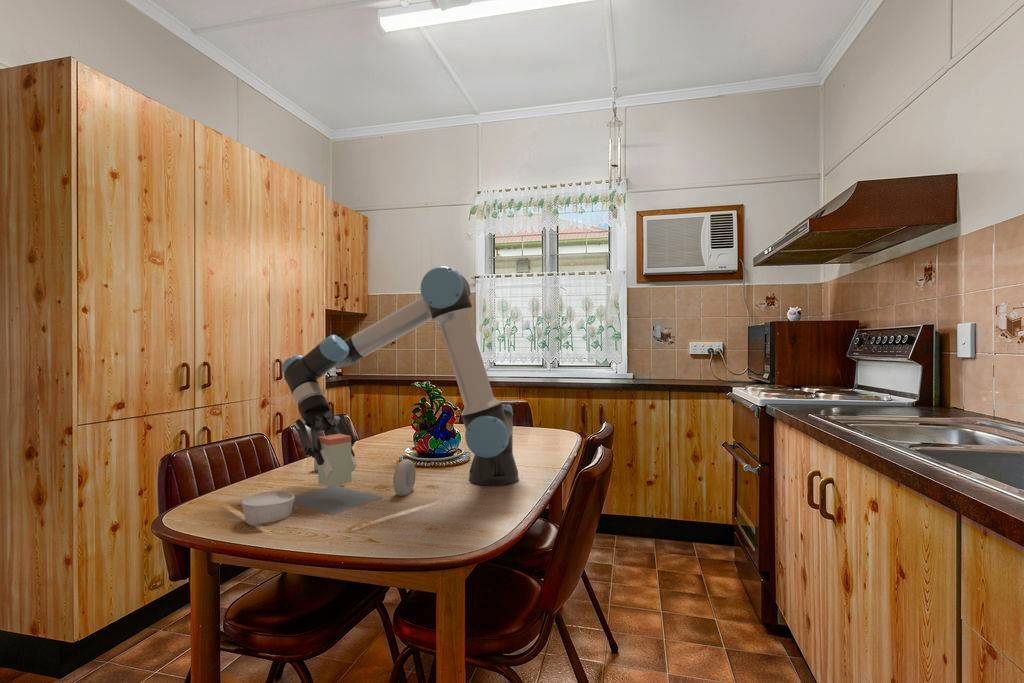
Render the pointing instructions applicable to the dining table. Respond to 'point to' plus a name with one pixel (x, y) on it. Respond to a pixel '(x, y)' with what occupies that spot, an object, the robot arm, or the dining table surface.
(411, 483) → the grey wheel
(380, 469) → the dining table surface
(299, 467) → the dining table surface
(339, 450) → the sage block
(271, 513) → the ramekin
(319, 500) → the slate mat
